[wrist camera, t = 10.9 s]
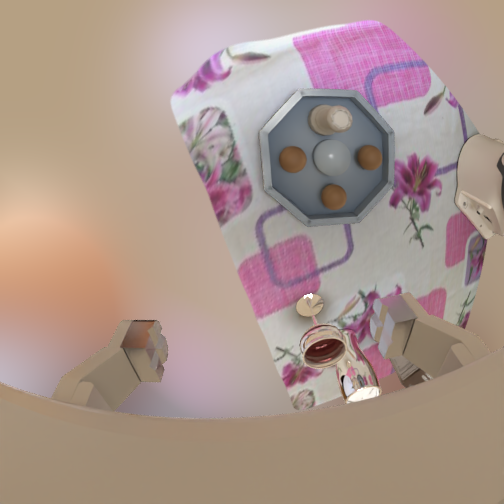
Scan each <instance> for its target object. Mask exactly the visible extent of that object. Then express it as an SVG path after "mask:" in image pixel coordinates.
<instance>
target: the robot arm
mask: <svg viewBox="0 0 504 504" xmlns="http://www.w3.org/2000/svg"><path fill="white" fill-rule="evenodd" d="M457 177H458V188H457V192H456V196H455V204H456V205H457V207H458V208H459V209H460V210H461V211H462V212H463V213H464V215H465V216H466V217H467V218H468V219H469V221H470V222H471V223H472V224H473V225H474V227H475V228H476V229H477V230H478V232H479V233H480V234H481V235H482V237H483V238H485V239H489V238H491V237H492V236H494V235H495V234H496V233H497V234H499V235H501V236H504V144H503V143H502V141H501V140H498V139H490V138H488V137H486V136H485V135H481V134H477V135H474V136H472V137H471V138H469V139H468V140H467V142H466V143H465V145H464V146H463V148H462V151H461V153H460V157H459V161H458V170H457ZM463 203H464V204H463ZM373 309H374V311H375V313H374V314H373V315H372V316H371V319H370V332H371V335H372V337H373V339H374V340H375V341H377V342H379V346H378V349H379V351H380V353H381V354H382V356H383V358H384V359H388V358H393V357H397V356H401V355H403V357H405V358H406V359H408V360H409V361H410V362H412V363H413V364H415V365H416V366H417V367H419V368H420V369H422V370H423V371H424V372H426V373H427V374H429V375H430V376H431V377H433V379H431V380H428V381H425V382H422V383H419V384H416V385H413V386H410V387H407V388H404V389H401V390H398V391H395V392H391V393H387V394H384V395H380V396H377V397H373V398H369V399H365V400H361V401H356V402H352V403H347V404H343V405H338V406H333V407H327V408H322V409H316V410H309V411H303V412H295V413H288V414H279V415H269V416H257V417H242V418H241V417H240V418H174V417H157V416H147V415H137V414H128V413H120V412H114V411H115V410H116V409H117V408H118V407H119V405H120V404H121V403H122V402H123V401H124V400H125V399H126V398H127V397H128V396H129V395H130V394H131V393H132V392H133V391H134V390H135V389H136V387H137V386H138V385H139V384H140V383H141V382H161V379H162V376H163V372H164V367H163V365H162V364H163V363H164V362H165V361H167V356H168V345H167V341H166V338H165V337H164V336H163V335H162V334H161V330H162V327H161V325H160V322H159V321H157V320H123V321H121V322H120V324H119V325H118V327H117V329H116V331H115V333H114V335H113V337H112V339H111V341H110V343H109V345H108V347H104V348H102V349H101V350H100V351H98V352H97V353H95V354H94V355H93V356H91V357H90V358H88V359H87V360H85V361H84V362H82V363H81V364H80V365H78V366H77V367H75V368H74V369H73V370H71V371H70V372H68V373H67V374H65V375H64V376H63V377H62V378H61V380H60V382H59V384H58V386H57V388H56V390H55V392H54V394H53V396H52V398H47V397H44V396H40V395H37V394H33V393H30V392H27V391H24V390H21V389H18V388H15V387H12V386H9V385H7V384H4V383H2V382H0V504H504V347H502V348H500V349H499V350H496V351H495V352H493V353H491V352H490V350H489V349H488V348H487V346H486V345H485V344H484V343H483V341H482V340H481V339H480V338H479V337H478V335H476V334H474V333H472V332H470V331H467V330H465V329H463V328H461V327H458V326H456V325H454V324H452V323H449V322H447V321H445V320H443V319H440V318H438V317H436V316H434V315H428V313H427V312H426V311H425V310H424V309H423V307H422V306H421V305H420V304H419V303H418V301H417V300H416V299H415V298H414V297H413V295H412V294H411V293H403V294H399V295H396V296H390V297H385V298H379V299H375V301H374V304H373Z"/></svg>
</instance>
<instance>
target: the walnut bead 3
mask: <svg viewBox="0 0 504 504" xmlns="http://www.w3.org/2000/svg"><path fill="white" fill-rule="evenodd" d="M357 159H358V162H359V164H360V165H361V167H363V168H364V169H366V170H375V169H377V168H379V166H380V165H381V163H382V154H381V152H380V150H379V149H378V148H376V147H375V146H372V145H366V146H363V147H362V148H361V149H360V150H359V152H358V155H357Z"/></svg>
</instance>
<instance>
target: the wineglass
mask: <svg viewBox="0 0 504 504" xmlns="http://www.w3.org/2000/svg"><path fill="white" fill-rule="evenodd" d="M322 308H323V300H322V298H321V297H320V296H319V295H316V294H308V295H305V296H303V297H302V298H301V299H300V300H299V301H298V302H297V305H296V309H297V312H298V313H299V314H300V315H302V316H312V319H313V323H314V326H312V327H310V328H309V329H308V330H306V331H305V332H304V334H303V335H302V338H301V341H300V350H301V353H302V355H303V362H304V363H305V364H306V365H307V366H309V367H311V368H316V369H321V368H327V367H330V366H332V365H334V364H336V363H338V362H339V361H340V360H342V358H343V357H344V356H345V354H346V351H347V345H346V344H345V342H344V337H343V335H342V333H341V331H340V330H339V329H338V328H337V327H335V326H334V325H332V324H328V323H321V324H318V322H317V320H316V317H315V315H316V314H317V313H319V312H320V311H321V309H322Z"/></svg>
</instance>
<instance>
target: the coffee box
mask: <svg viewBox="0 0 504 504" xmlns="http://www.w3.org/2000/svg"><path fill="white" fill-rule="evenodd" d="M389 359H390V361H391V363H392V365H393V367H394V369H395V371H396V373H397V375H398V377H399V379H400V381H401V384H402V385H404V387H406V388H407V387H410V386H413V385H416V384H419V383H422V382H425V381H428V380H431V379H433V377H431V376H430V375H429V374H427V373H426V372H424V371H423V370H422V369H420V368H419V367H417V366H416V365H415V364H413V363H412V362H410V361H409V360H408V359H406V358H405V357H403V355H401V356H397V357H393V358H389Z"/></svg>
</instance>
